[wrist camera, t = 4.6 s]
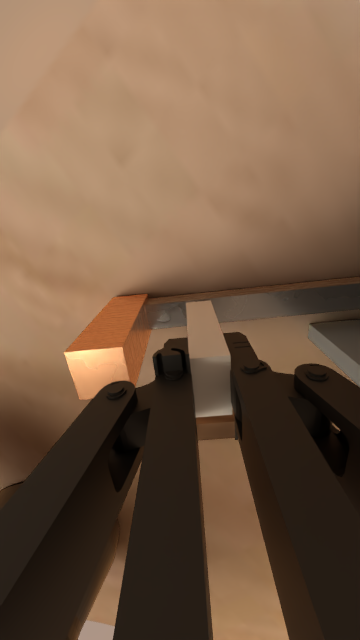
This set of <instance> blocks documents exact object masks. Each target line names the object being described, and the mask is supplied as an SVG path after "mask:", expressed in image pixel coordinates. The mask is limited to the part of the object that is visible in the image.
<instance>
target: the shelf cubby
mask: <svg viewBox="0 0 360 640" xmlns="http://www.w3.org/2000/svg"><path fill="white" fill-rule="evenodd" d="M308 338H309V339H310V340H311V341H312V342H313V343H314V344H315V345H316V346H317V347H318V348H319V349H320V350H321V351H322V352H323V353H324V354H325V355H326V356H327V357H329V358H330V359H331V360H332V361H333V362H334V363H335V364H336V365H337V366H338V367H339V368H340V369H341V370H342V371H343V372H344V373H345V374H346V375H348V376H349V377H350V378H351V379H352V380H353V381H354V382H355V383H356V384H357V385H358V386H359V387H360V319H356V320H346V321H335V322H325V323H314V324H309V333H308Z"/></svg>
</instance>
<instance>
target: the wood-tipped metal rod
mask: <svg viewBox="0 0 360 640" xmlns="http://www.w3.org/2000/svg"><path fill="white" fill-rule="evenodd" d="M209 300H211V303H212V305H213V308H214V311H215V314H216V317H217V319H218V322H219V323H222V322H233V321H243V320H253V319H264V318H274V317H284V316H295V315H305V314H315V313H325V312H336V311H346V310H356V309H360V277H350V278H341V279H331V280H321V281H312V282H302V283H292V284H283V285H273V286H263V287H254V288H244V289H235V290H225V291H215V292H206V293H196V294H186V295H177V296H167V297H157V298H148V294H141V295H131V296H122V297H113V298H112V299H111V301H110V302H109V303H108V304H107V305H106V306H105V307H104V308H103V309H102V311H101V312H100V313H99V314H98V315H97V316H96V317H95V318H94V320H93V321H92V322H91V323H90V324H89V325H88V326H87V327H86V329H85V330H84V331H83V332H82V333H81V334H80V335H79V336H78V337H77V339H76V340H75V341H74V342H73V343H72V344H71V345H70V346H69V348H68V349H67V350H66V351H65V352H64V354H65V357H66V360H67V363H68V366H69V369H70V372H71V375H72V378H73V381H74V384H75V387H76V390H77V394H78V397H79V400H83V399H93V398H94V397H95V395H96V394H97V393H98V392H99V391H100V390H101V389H102V388H103V387H104V386H106V385H108V384H110V383H112V382H115V381H124V380H125V381H129V382H131V383H133V384H134V386H136V383H137V379H138V376H139V372H140V369H141V365H142V362H143V358H144V355H145V351H146V347H147V344H148V340H149V337H150V333H151V330H152V329H160V328H171V327H181V326H187V312H186V303H188V302H199V301H209Z"/></svg>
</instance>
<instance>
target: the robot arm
mask: <svg viewBox="0 0 360 640" xmlns="http://www.w3.org/2000/svg"><path fill="white" fill-rule="evenodd" d="M186 312H187V332H188V337H187V338H176V339H169V340H168V341H167V342H166V343H165V344H164V348H163V349H161V350H158V351H157V352H156V353H154V355H153V363H154V369H155V375H156V377H155V380H154V381H153V382H151V383H150V384H147V385H145V386H142V387H138V388H135V386H134V384H133V383H131V382H129V381H125V380H124V381H115V382H112V383H110V384H108V385H106V386H104V387H103V388H102V389H101V390H100V391H99V392H98V393H97V394H96V395H95V397H94V398H93V399H92V400H91V401H90V403H89V404H88V405H87V406H86V408H85V409H84V410H83V411H82V412H81V414H80V415H79V416H78V417H77V418H76V420H75V421H74V422H73V423H72V424H71V426H70V427H69V428H68V429H67V430H66V432H65V433H64V434H63V435H62V437H61V438H60V439H59V440H58V441H57V443H56V444H55V445H54V446H53V447H52V449H51V450H50V451H49V452H48V453H47V455H46V456H45V457H44V458H43V459H42V461H41V462H40V463H39V464H38V465H37V467H36V468H35V469H34V470H33V472H32V473H31V474H30V475H29V476H28V478H27V479H26V480H25V481H24V482H23V483H21V484H17V485H13V486H10V487H7V488H5V489H3V490H1V491H0V640H78V637H79V634H80V632H81V629H82V627H83V625H84V623H85V621H86V619H87V617H88V615H89V612H90V610H91V608H92V606H93V604H94V602H95V600H96V597H97V595H98V593H99V591H100V589H101V587H102V585H103V582H104V580H105V578H106V576H107V574H108V572H109V570H110V567H111V565H112V563H113V560H114V557H115V553H116V548H117V543H118V538H119V524H118V521H117V517H118V514H119V512H120V510H121V507H122V505H123V503H124V500H125V498H126V496H127V493H128V491H129V488H130V486H131V484H132V481H133V479H134V477H135V474H136V472H137V470H138V467H139V465H140V463H141V460H142V464H141V470H140V476H139V482H138V488H137V494H136V501H135V507H134V513H133V519H132V525H131V531H130V537H129V544H128V550H127V556H126V562H125V568H124V574H123V581H122V587H121V593H120V599H119V605H118V611H117V618H116V624H115V630H114V636H113V640H213V632H212V619H211V606H210V593H209V580H208V567H207V554H206V541H205V528H204V515H203V502H202V489H201V476H200V463H199V450H198V436H197V425H196V417H208V416H221V415H232V407H233V411H234V419H235V440H239V444H240V448H241V452H242V455H243V459H244V463H245V467H246V471H247V475H248V479H249V483H250V487H251V491H252V495H253V499H254V502H255V506H256V510H257V514H258V518H259V522H260V526H261V530H262V534H263V538H264V542H265V546H266V549H267V553H268V557H269V561H270V565H271V569H272V573H273V577H274V581H275V585H276V589H277V593H278V596H279V600H280V604H281V608H282V612H283V616H284V620H285V624H286V628H287V632H288V636H289V640H360V387H358V386H357V385H355V384H354V383H352V382H351V381H349V380H348V379H346V378H345V377H343V376H342V375H340V374H339V373H337V372H336V371H334V370H332V369H330V368H328V367H326V366H323V365H319V364H302V365H300V366H298V367H297V368H296V369H295V374H294V375H293V374H283V373H277V372H274V371H272V370H271V368H270V366H269V365H268V364H267V363H265V362H263V361H261V360H259V359H258V358H257V356H256V354H255V352H254V350H253V348H252V347H251V345H250V343H249V341H248V339H247V338H246V336H245V335H243V334H241V333H240V332H233V333H222V330H221V328H220V325H219V322H218V319H217V317H216V314H215V311H214V308H213V305H212V303H211V300H209V301H199V302H188V303H186ZM332 423H333V424H335V425H336V426H337V427H338V428H339V429H340V431H339V430H338V429H336V428H335V427H334V426H333V425H332Z"/></svg>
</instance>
